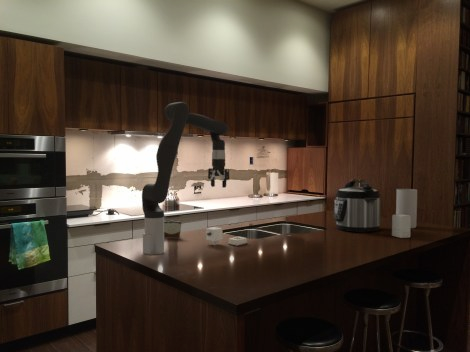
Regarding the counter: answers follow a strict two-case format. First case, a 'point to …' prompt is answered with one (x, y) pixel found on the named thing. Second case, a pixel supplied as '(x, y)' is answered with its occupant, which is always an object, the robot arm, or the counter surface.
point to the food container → (172, 228)
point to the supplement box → (401, 225)
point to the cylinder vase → (407, 204)
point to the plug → (214, 235)
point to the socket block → (237, 241)
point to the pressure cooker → (357, 208)
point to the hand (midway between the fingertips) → (218, 187)
